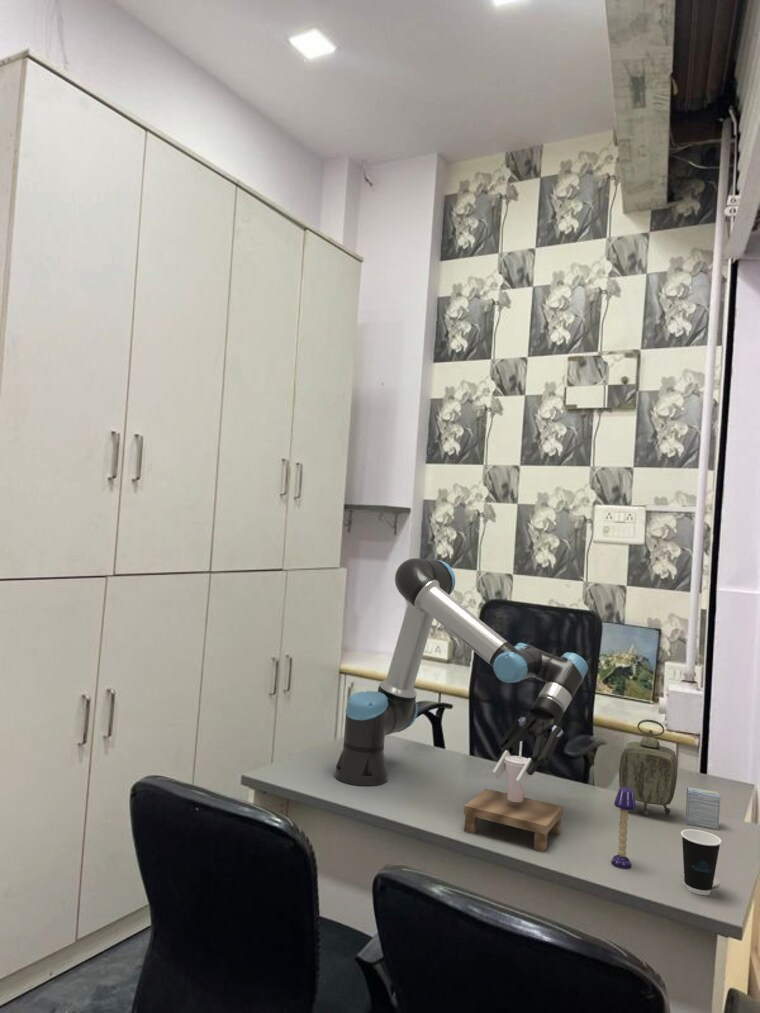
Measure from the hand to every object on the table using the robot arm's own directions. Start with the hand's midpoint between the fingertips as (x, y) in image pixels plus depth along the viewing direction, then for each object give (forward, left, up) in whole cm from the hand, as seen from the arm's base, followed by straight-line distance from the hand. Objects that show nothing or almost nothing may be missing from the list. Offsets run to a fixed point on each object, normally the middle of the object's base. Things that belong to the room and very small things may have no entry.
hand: (507, 779), depth 179 cm
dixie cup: (+43, -3, -13) cm, 45 cm away
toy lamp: (+27, 0, -13) cm, 30 cm away
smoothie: (+1, +3, -6) cm, 7 cm away
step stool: (+1, +3, -13) cm, 13 cm away
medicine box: (+41, +41, -13) cm, 60 cm away
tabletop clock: (+27, +40, -13) cm, 50 cm away
